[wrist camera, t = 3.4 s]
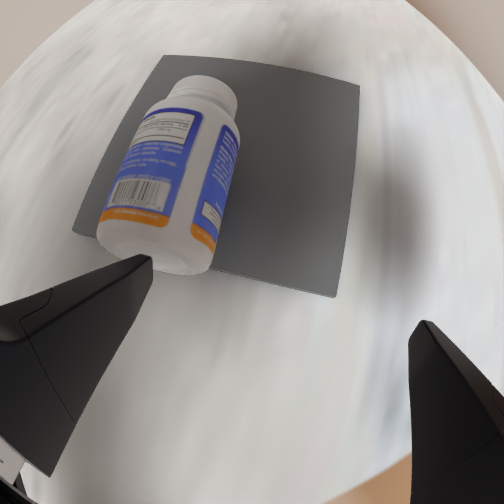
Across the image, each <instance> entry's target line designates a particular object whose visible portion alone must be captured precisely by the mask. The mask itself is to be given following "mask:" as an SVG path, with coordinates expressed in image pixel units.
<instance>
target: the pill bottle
mask: <svg viewBox="0 0 504 504" xmlns="http://www.w3.org/2000/svg"><path fill="white" fill-rule="evenodd" d="M236 110H237V99H236V96H235V94H234V92H233V91H232V90H231V89H230V88H229V87H228V86H227V85H226V84H225V83H223V82H221V81H220V80H218V79H215V78H212V77H209V76H203V75H194V76H189V77H186V78H183V79H181V80H180V81H178V82H177V83H176V84H175V86H174V87H173V89H172V90H171V92H170V94H169V95H168V96H167V98H166V99H164V100H162V101H160V102H158V103H156V104H155V105H153V106H152V107H151V108H150V109H149V110H148V111H147V113H146V114H145V116H144V118H143V120H142V122H141V123H140V125H139V127H138V129H137V132H136V134H135V136H134V138H133V140H132V142H131V144H130V146H129V148H128V150H127V153H126V155H125V157H124V159H123V162H122V164H121V166H120V169H119V171H118V173H117V176H116V178H115V180H114V183H113V185H112V188H111V190H110V193H109V196H108V198H107V201H106V203H105V206H104V209H103V212H102V214H101V217H100V220H99V223H98V227H97V233H96V236H97V240H98V242H99V243H100V245H101V246H102V247H103V248H105V249H106V250H107V251H108V252H110V253H111V254H113V255H115V256H116V257H118V258H120V259H122V260H124V259H127V258H129V257H132V256H135V255H138V254H144V255H148V256H151V257H152V260H153V270H156V271H161V272H166V273H171V274H178V275H196V274H201V273H203V272H205V271H207V270H208V268H209V267H210V265H211V262H212V259H213V255H214V251H215V247H216V242H217V238H218V234H219V230H220V225H221V221H222V217H223V212H224V208H225V204H226V200H227V195H228V191H229V187H230V183H231V179H232V175H233V171H234V167H235V163H236V159H237V155H238V150H239V145H240V135H239V131H238V128H237V126H236V124H235V122H234V119H235V114H236Z"/></svg>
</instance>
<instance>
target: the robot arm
mask: <svg viewBox="0 0 504 504" xmlns="http://www.w3.org/2000/svg"><path fill="white" fill-rule="evenodd" d="M152 281H153V260H152V257H151V256H148V255H144V254H138V255H135V256H132V257H129V258H127V259H124V260H121V261H119V262H116V263H113V264H111V265H108V266H105V267H103V268H100V269H98V270H95V271H92V272H90V273H87V274H85V275H82V276H79V277H77V278H74V279H72V280H69V281H67V282H64V283H62V284H59V285H57V286H54V287H53V288H49V289H47V290H44V291H42V292H39V293H36V294H34V295H31V296H29V297H26V298H23V299H20V300H17V301H14V302H11V303H8V304H5V305H2V306H0V504H37V503H36V502H34V501H33V500H31V499H30V498H29V497H27V494H26V491H25V488H24V485H23V481H22V478H21V474H20V470H21V468H22V466H23V465H24V463H25V461H26V462H27V463H29V464H30V465H32V466H33V467H34V468H36V469H37V470H39V471H40V472H42V473H43V474H45V475H46V476H48V477H51V475H52V473H53V471H54V469H55V467H56V465H57V462H58V460H59V458H60V456H61V454H62V452H63V450H64V448H65V446H66V444H67V442H68V440H69V438H70V436H71V434H72V432H73V430H74V428H75V426H76V424H77V422H78V420H79V418H80V416H81V414H82V412H83V410H84V409H85V407H86V405H87V403H88V401H89V399H90V397H91V395H92V394H93V392H94V390H95V388H96V386H97V385H98V383H99V381H100V379H101V377H102V376H103V374H104V372H105V370H106V368H107V367H108V365H109V363H110V361H111V360H112V358H113V356H114V355H115V353H116V351H117V349H118V348H119V346H120V344H121V343H122V341H123V339H124V338H125V336H126V334H127V333H128V331H129V329H130V328H131V326H132V324H133V322H134V321H135V319H136V316H137V314H138V312H139V310H140V308H141V306H142V304H143V301H144V299H145V297H146V295H147V293H148V291H149V289H150V287H151V284H152ZM408 355H409V393H410V408H411V428H412V481H411V498H410V504H504V397H503V396H502V395H501V393H500V392H499V391H498V390H497V389H496V388H495V387H494V386H493V385H492V383H491V382H490V381H489V380H488V379H487V378H486V377H485V376H484V375H483V374H482V372H481V371H480V370H479V369H478V368H477V367H476V366H475V365H474V364H473V363H472V362H471V361H470V360H469V359H468V358H467V356H466V355H465V354H464V353H463V352H462V351H461V350H460V349H459V348H458V347H457V346H456V345H455V344H454V343H453V342H452V341H451V340H450V339H449V338H448V337H447V336H446V335H445V334H444V333H443V332H442V331H441V330H440V329H439V328H438V327H437V326H436V325H435V324H434V323H433V322H431V321H426V320H421V321H420V322H419V323H418V325H417V327H416V328H415V330H414V331H413V333H412V335H411V336H410V338H409V342H408Z"/></svg>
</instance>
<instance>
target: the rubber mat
mask: <svg viewBox="0 0 504 504" xmlns="http://www.w3.org/2000/svg"><path fill="white" fill-rule="evenodd" d="M194 75H203V76H209V77H212V78H215V79H218V80H220V81H221V82H223V83H225V84H226V85H227V86H228V87H229V88H230V89H231V90H232V91H233V92H234V94H235V96H236V99H237V110H236V114H235V119H234V122H235V124H236V126H237V128H238V131H239V135H240V145H239V150H238V155H237V159H236V163H235V167H234V171H233V175H232V179H231V183H230V187H229V191H228V195H227V200H226V204H225V208H224V212H223V217H222V221H221V225H220V230H219V234H218V238H217V242H216V247H215V251H214V255H213V259H212V262H211V265H210V267H209V268H210V269H214V270H218V271H222V272H226V273H230V274H234V275H238V276H242V277H246V278H250V279H254V280H258V281H263V282H267V283H271V284H275V285H279V286H284V287H288V288H292V289H296V290H301V291H305V292H309V293H314V294H318V295H323V296H327V297H332V298H334V297H336V294H337V288H338V283H339V277H340V272H341V266H342V260H343V254H344V247H345V241H346V234H347V227H348V220H349V212H350V204H351V196H352V187H353V178H354V168H355V158H356V146H357V132H358V116H359V95H360V86H359V85H356V84H352V83H349V82H345V81H342V80H338V79H334V78H330V77H326V76H322V75H318V74H314V73H310V72H305V71H300V70H296V69H291V68H285V67H280V66H274V65H269V64H262V63H256V62H249V61H241V60H233V59H223V58H212V57H199V56H179V55H163V57H162V58H161V60H160V61H159V63H158V64H157V65H156V67H155V68H154V70H153V71H152V73H151V74H150V76H149V77H148V79H147V80H146V82H145V84H144V85H143V87H142V88H141V90H140V91H139V93H138V95H137V96H136V98H135V100H134V101H133V103H132V105H131V106H130V108H129V110H128V111H127V113H126V115H125V117H124V118H123V120H122V122H121V124H120V125H119V127H118V129H117V131H116V133H115V135H114V137H113V138H112V140H111V142H110V144H109V146H108V148H107V150H106V152H105V154H104V156H103V158H102V160H101V162H100V164H99V166H98V169H97V171H96V173H95V175H94V177H93V179H92V182H91V184H90V186H89V188H88V191H87V193H86V195H85V198H84V200H83V203H82V205H81V207H80V210H79V212H78V215H77V218H76V220H75V223H74V225H73V228H72V231H74V232H75V233H79V234H82V235H86V236H89V237H93V238H97V236H96V233H97V227H98V223H99V220H100V217H101V214H102V212H103V209H104V206H105V203H106V201H107V198H108V196H109V193H110V190H111V188H112V185H113V183H114V180H115V178H116V176H117V173H118V171H119V169H120V166H121V164H122V162H123V159H124V157H125V155H126V153H127V150H128V148H129V146H130V144H131V142H132V140H133V138H134V136H135V134H136V132H137V129H138V127H139V125H140V123H141V122H142V120H143V118H144V116H145V114H146V113H147V111H148V110H149V109H150V108H151V107H152V106H153V105H155V104H156V103H158V102H160V101H162V100H164V99H166V98H167V96H168V95H169V94H170V92H171V90H172V89H173V87H174V86H175V84H176V83H177V82H178V81H180V80H181V79H183V78H186V77H189V76H194Z"/></svg>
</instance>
